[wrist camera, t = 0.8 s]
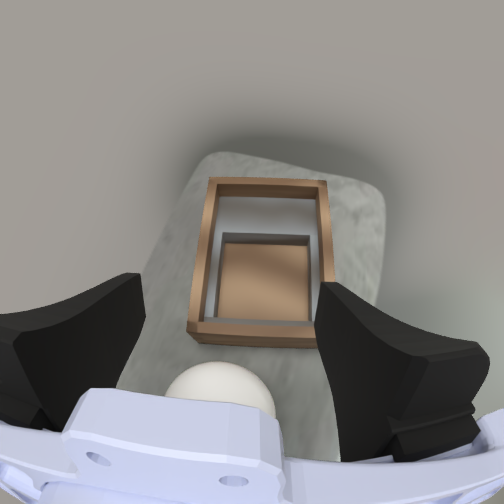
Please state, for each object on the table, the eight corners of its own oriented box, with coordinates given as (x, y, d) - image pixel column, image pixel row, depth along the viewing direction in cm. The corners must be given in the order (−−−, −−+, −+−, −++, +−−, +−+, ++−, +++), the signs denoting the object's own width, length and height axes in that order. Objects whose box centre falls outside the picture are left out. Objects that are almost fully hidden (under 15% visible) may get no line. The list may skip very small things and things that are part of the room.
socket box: (324, 348, 24) (337, 337, 20) (198, 343, 25) (186, 331, 21) (319, 209, 31) (326, 180, 27) (215, 205, 31) (209, 177, 27)
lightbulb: (183, 385, 23) (129, 373, 13) (255, 362, 24) (250, 335, 14) (208, 455, 20) (170, 491, 10) (282, 431, 21) (298, 456, 11)
